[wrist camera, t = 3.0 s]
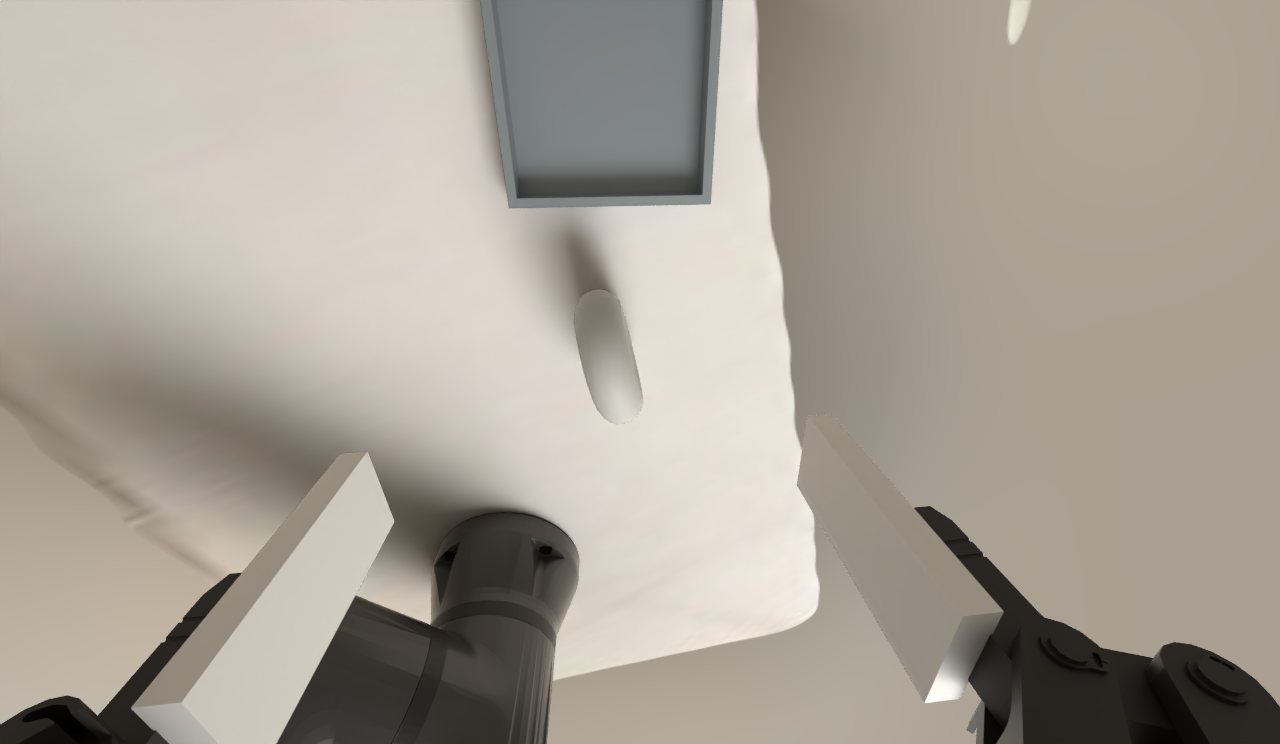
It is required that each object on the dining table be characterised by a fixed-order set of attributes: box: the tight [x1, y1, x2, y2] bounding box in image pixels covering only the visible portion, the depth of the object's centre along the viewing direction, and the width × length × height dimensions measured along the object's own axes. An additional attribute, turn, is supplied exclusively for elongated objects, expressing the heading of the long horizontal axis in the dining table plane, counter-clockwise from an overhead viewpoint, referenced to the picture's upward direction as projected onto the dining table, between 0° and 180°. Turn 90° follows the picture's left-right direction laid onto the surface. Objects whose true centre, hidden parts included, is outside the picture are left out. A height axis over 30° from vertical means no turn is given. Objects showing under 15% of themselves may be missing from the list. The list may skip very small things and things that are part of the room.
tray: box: [480, 0, 723, 208], centre depth 29 cm, size 14×14×2 cm
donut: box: [574, 289, 643, 424], centre depth 33 cm, size 10×4×10 cm, turn 12°
